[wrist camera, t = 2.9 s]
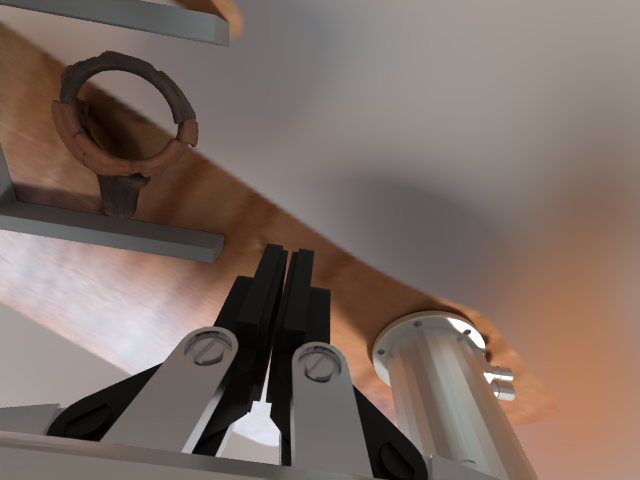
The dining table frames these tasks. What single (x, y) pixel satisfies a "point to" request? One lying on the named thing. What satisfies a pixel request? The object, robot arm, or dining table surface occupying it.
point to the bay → (9, 214)
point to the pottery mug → (112, 172)
